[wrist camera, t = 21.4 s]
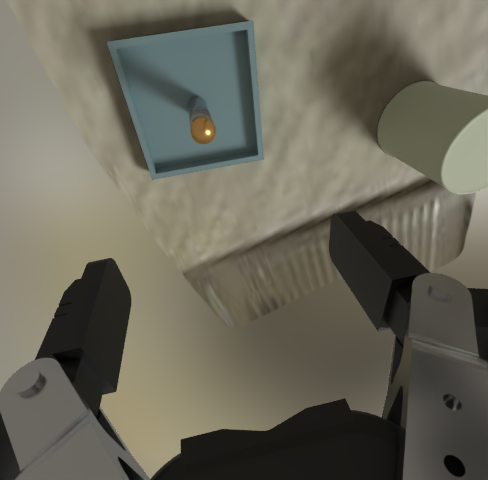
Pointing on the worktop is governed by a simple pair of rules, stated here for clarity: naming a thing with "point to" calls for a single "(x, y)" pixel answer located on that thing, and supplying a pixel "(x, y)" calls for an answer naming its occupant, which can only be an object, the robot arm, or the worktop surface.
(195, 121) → the orange-topped grey cylinder
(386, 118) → the can
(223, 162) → the tray
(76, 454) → the robot arm
